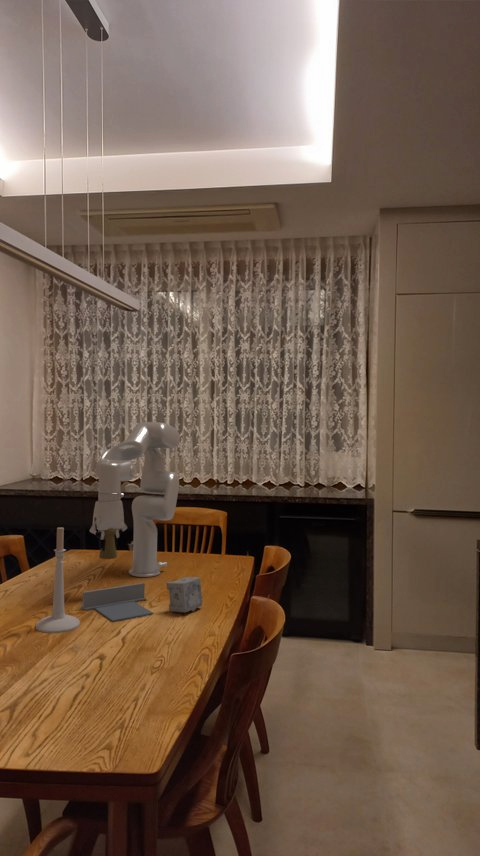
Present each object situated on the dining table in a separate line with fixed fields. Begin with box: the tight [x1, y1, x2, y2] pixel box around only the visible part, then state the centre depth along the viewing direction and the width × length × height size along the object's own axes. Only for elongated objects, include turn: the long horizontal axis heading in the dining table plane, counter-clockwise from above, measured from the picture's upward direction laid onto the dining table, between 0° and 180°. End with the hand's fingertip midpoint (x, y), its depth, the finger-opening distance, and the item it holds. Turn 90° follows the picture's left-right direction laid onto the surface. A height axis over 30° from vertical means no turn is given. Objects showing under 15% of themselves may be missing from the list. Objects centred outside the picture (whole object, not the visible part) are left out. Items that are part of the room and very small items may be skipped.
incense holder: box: [166, 576, 203, 613], centre depth 198 cm, size 10×8×10 cm
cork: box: [99, 528, 118, 560], centre depth 210 cm, size 6×6×11 cm
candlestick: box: [35, 526, 81, 634], centre depth 180 cm, size 13×13×30 cm
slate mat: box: [94, 601, 154, 623], centre depth 194 cm, size 14×14×1 cm
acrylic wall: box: [80, 582, 147, 612], centre depth 202 cm, size 22×4×6 cm, turn 126°
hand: (108, 548), depth 210 cm, fingers closed on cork, 3 cm apart
